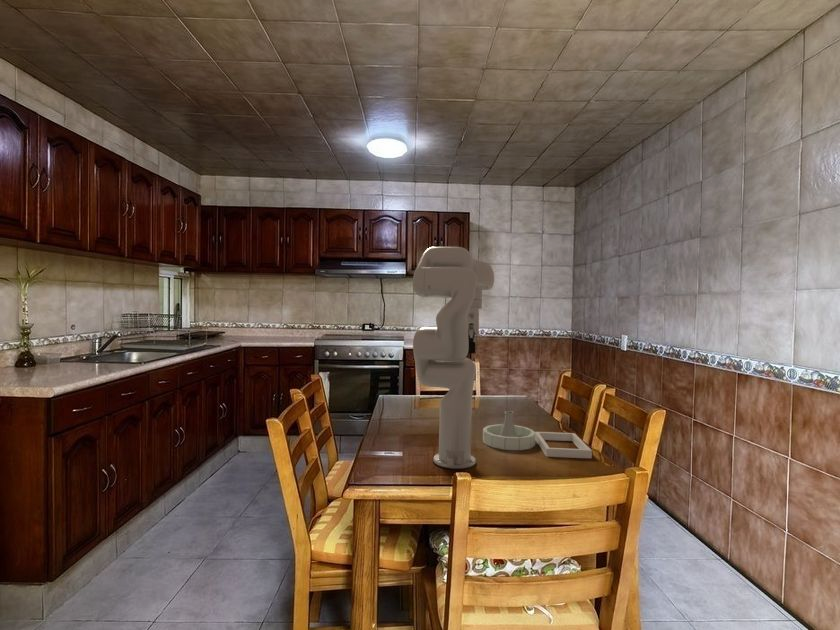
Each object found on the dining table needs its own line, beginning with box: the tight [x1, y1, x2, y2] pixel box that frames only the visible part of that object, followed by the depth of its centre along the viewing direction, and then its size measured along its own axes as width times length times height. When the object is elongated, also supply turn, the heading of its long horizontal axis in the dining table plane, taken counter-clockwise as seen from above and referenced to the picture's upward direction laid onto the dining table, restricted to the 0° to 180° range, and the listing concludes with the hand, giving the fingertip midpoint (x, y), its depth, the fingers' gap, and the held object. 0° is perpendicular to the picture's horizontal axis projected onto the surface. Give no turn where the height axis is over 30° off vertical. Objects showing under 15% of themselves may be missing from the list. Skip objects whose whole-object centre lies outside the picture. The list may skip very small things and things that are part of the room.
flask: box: [499, 410, 518, 437], centre depth 161 cm, size 7×7×10 cm
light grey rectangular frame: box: [534, 431, 593, 459], centre depth 156 cm, size 20×14×2 cm
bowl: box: [482, 423, 536, 451], centre depth 161 cm, size 17×17×4 cm
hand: (470, 351), depth 168 cm, fingers open, 9 cm apart
